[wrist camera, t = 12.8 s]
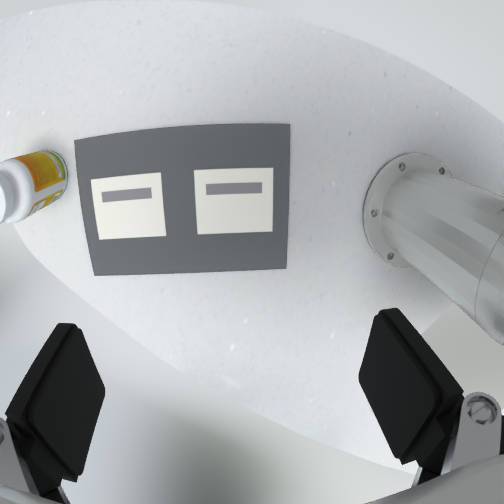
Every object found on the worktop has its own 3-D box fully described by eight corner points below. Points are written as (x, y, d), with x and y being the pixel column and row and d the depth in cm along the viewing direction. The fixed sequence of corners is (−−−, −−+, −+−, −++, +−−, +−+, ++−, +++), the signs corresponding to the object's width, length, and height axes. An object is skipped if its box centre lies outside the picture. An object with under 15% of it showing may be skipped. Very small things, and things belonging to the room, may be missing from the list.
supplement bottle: (33, 144, 23) (-29, 159, 14) (74, 156, 24) (15, 174, 15) (24, 194, 25) (-33, 224, 16) (63, 208, 26) (9, 244, 17)
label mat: (289, 124, 25) (290, 124, 25) (286, 267, 31) (286, 269, 30) (74, 140, 24) (73, 140, 23) (95, 275, 29) (94, 276, 29)
